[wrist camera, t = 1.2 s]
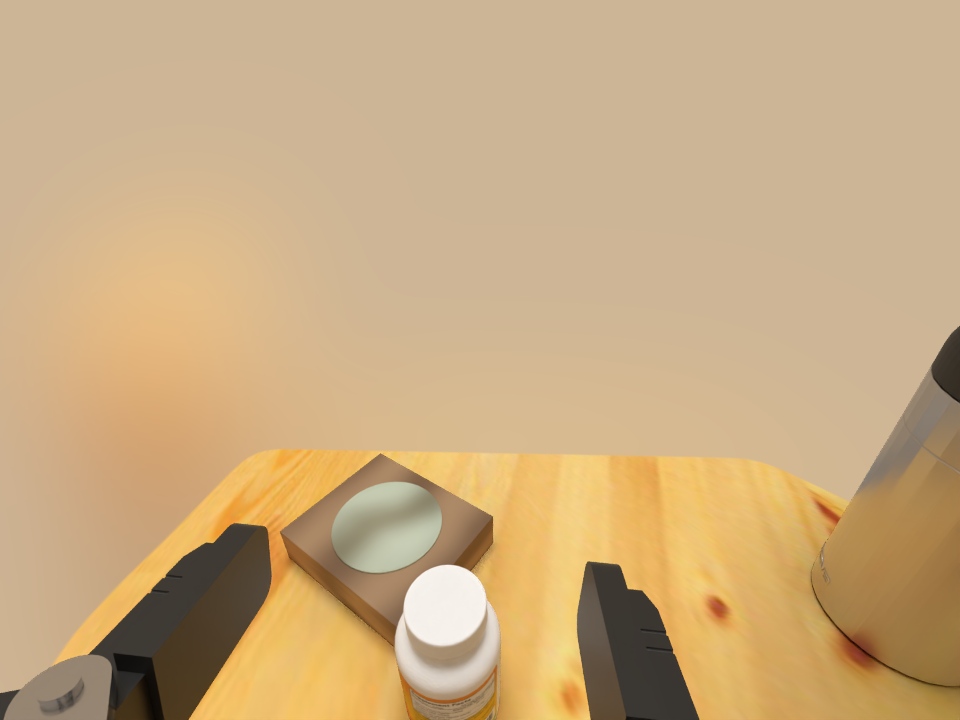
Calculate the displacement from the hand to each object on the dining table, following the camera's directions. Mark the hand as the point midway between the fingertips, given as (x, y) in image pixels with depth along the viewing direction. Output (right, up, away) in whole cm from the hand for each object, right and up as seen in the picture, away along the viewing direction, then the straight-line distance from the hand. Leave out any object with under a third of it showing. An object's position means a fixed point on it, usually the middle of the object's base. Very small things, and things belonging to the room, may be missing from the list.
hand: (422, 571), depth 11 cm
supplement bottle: (0, -15, +15) cm, 21 cm away
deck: (-5, -9, +24) cm, 26 cm away
